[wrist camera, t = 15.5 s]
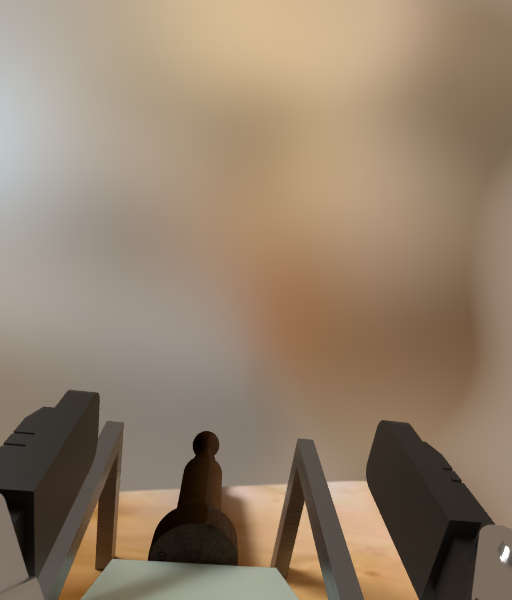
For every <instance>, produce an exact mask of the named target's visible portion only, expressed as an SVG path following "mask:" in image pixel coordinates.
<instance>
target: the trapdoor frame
mask: <svg viewBox="0 0 512 600" xmlns="http://www.w3.org/2000/svg"><path fill="white" fill-rule="evenodd" d="M123 428H124V423H123V422H112V421H107V422H106V424H105V426H104V428H103V430H102V432H101V434H100V436H99V438H98V444H97V450H96V454H95V458H94V461H93V464H92V466H91V469H90V471H89V473H88V475H87V477H86V479H85V481H84V483H83V485H82V487H81V489H80V491H79V494H78V496H77V498H76V500H75V502H74V504H73V506H72V508H71V510H70V512H69V514H68V516H67V519H66V521H65V523H64V525H63V527H62V529H61V531H60V533H59V535H58V537H57V539H56V541H55V543H54V546H53V548H52V550H51V552H50V554H49V556H48V558H47V560H46V562H45V564H44V566H43V568H42V571H41V573H40V575H39V577H38V579H37V580H38V582H39V585H40V588H41V591H42V594H43V597H44V600H58V598H59V595H60V593H61V590H62V588H63V586H64V583H65V581H66V578H67V576H68V573H69V571H70V568H71V566H72V563H73V561H74V558H75V556H76V554H77V551H78V549H79V546H80V544H81V541H82V539H83V536H84V534H85V531H86V529H87V527H88V524H89V522H90V519H91V517H92V514H93V512H94V509H95V507H96V504H97V502H98V522H97V543H96V564H95V569H105V568H106V566H107V565H108V564H109V563H110V561H111V560H112V559H114V558H115V549H116V534H117V519H118V504H119V489H120V473H121V458H122V443H123ZM98 500H99V501H98ZM304 501H305V503H306V507H307V511H308V516H309V520H310V524H311V529H312V533H313V537H314V541H315V546H316V550H317V554H318V558H319V563H320V567H321V571H322V575H323V580H324V584H325V588H326V592H327V597H328V600H364V598H363V595H362V592H361V588H360V585H359V582H358V579H357V576H356V573H355V570H354V567H353V563H352V560H351V557H350V554H349V551H348V548H347V545H346V542H345V538H344V535H343V532H342V529H341V526H340V523H339V520H338V516H337V513H336V510H335V507H334V504H333V501H332V498H331V495H330V491H329V488H328V485H327V482H326V479H325V476H324V473H323V470H322V466H321V463H320V460H319V457H318V454H317V451H316V448H315V445H314V441H313V440H308V439H298V440H297V444H296V449H295V454H294V458H293V463H292V468H291V473H290V477H289V482H288V486H287V491H286V495H285V500H284V505H283V509H282V514H281V519H280V523H279V528H278V533H277V537H276V542H275V547H274V551H273V556H272V560H271V568H277V570H278V571H279V573H280V574H281V575H282V577H283V578H284V579H286V578H287V574H288V569H289V565H290V561H291V556H292V552H293V548H294V544H295V539H296V535H297V531H298V526H299V522H300V518H301V514H302V509H303V505H304Z"/></svg>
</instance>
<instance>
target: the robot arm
mask: <svg viewBox="0 0 512 600" xmlns="http://www.w3.org/2000/svg"><path fill="white" fill-rule="evenodd" d="M99 399H100V398H99V394H98V393H96V392H86V391H76V390H69V391H67V393H66V394H65V395H64V396H63V398H62V399H61V400H60V402H59V403H58V404H57V405H56V407H55V408H52V407H42V408H41V409H39V410H37V411H36V412H34V413H32V414H31V415H29V416H28V417H26V418H25V419H24V420H23V421H22V422H21V424H20V425H19V426H18V427H17V428H16V429H15V431H14V433H13V434H11V435H10V436H9V437H8V439H7V440H6V441H5V442H4V445H3V446H1V447H0V600H44V597H43V594H42V591H41V588H40V585H39V582H38V580H37V579H38V577H39V575H40V573H41V571H42V568H43V566H44V564H45V562H46V560H47V558H48V556H49V554H50V552H51V550H52V548H53V546H54V543H55V541H56V539H57V537H58V535H59V533H60V531H61V529H62V527H63V525H64V523H65V521H66V519H67V516H68V514H69V512H70V510H71V508H72V506H73V504H74V502H75V500H76V498H77V496H78V494H79V491H80V489H81V487H82V485H83V483H84V481H85V479H86V477H87V475H88V473H89V471H90V469H91V466H92V464H93V461H94V458H95V454H96V450H97V444H98V426H99V402H100V400H99ZM366 477H367V483H368V487H369V489H370V491H371V494H372V496H373V498H374V500H375V502H376V505H377V507H378V509H379V511H380V514H381V516H382V518H383V520H384V523H385V525H386V527H387V529H388V531H389V534H390V536H391V538H392V540H393V543H394V545H395V547H396V549H397V551H398V554H399V556H400V558H401V560H402V563H403V565H404V567H405V569H406V572H407V574H408V576H409V578H410V580H411V583H412V585H413V587H414V589H415V592H416V594H417V596H418V598H419V600H512V529H510V528H507V527H504V526H499V525H495V523H494V522H493V521H492V519H491V518H490V517H489V516H488V514H487V513H486V512H485V510H484V509H483V508H482V506H481V505H480V504H479V503H478V501H477V500H476V499H475V497H474V496H473V495H472V493H471V492H470V491H469V490H468V488H467V487H466V486H465V484H464V483H462V482H461V481H462V480H461V479H460V478H459V476H458V475H457V474H456V473H455V472H454V471H453V470H452V467H451V466H450V465H449V464H448V462H447V461H446V460H445V458H444V457H443V456H442V454H440V453H439V452H438V451H437V450H435V449H434V448H433V447H432V446H430V445H429V444H428V443H426V442H423V441H422V440H421V439H420V437H419V436H418V435H417V433H416V432H415V431H414V429H413V428H412V426H411V425H410V424H409V423H405V422H395V421H385V420H382V421H381V422H380V423H379V424H378V427H377V430H376V433H375V437H374V441H373V444H372V448H371V451H370V455H369V459H368V462H367V468H366Z"/></svg>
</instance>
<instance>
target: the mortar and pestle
mask: <svg viewBox="0 0 512 600" xmlns="http://www.w3.org/2000/svg"><path fill="white" fill-rule="evenodd" d="M218 449H219V440H218V438H217V436H216V435H215V434H214V433H212V432H209V431H204V432H201V433H199V434H198V435H197V436H196V437H195V439H194V441H193V450H194V453H195V454H196V456H195V457H194V459H192V460H191V461H190V462H188V464H187V465H186V467H185V469H184V474H183V479H182V485H181V490H180V495H179V500H178V505H177V508H176V509H174V510H173V511H171V512H170V513H168V514H167V515H166V516H165V517H164V518H163V519H162V520H161V521H160V523H159V524H158V526H157V528H156V530H155V533H154V536H153V540H152V543H151V547H150V551H149V555H148V561H160V562H178V563H196V564H214V565H232V566H237V565H238V550H237V536H236V531H235V528H234V526H233V524H232V522H231V521H230V519H229V518H228V517H227V516H226V515H225V514H224V513H222V512H221V485H222V470H221V467H220V465H219V464H218V463H217V462H216V461H215V457H214V455H215V454H216V453H217V451H218Z"/></svg>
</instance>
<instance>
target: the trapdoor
mask: <svg viewBox="0 0 512 600" xmlns="http://www.w3.org/2000/svg"><path fill="white" fill-rule="evenodd" d="M81 600H299V598H298V597H297V596H296V594H295V593H294V592H293V590H292V589H291V588H290V586H289V585H288V583H287V582H286V581H285V579H284V578H283V577H282V575H281V574H280V573H279V571H278V570H277V568H269V567H250V566H232V565H214V564H196V563H178V562H160V561H141V560H123V559H112V560H111V561H110V563H109V564H108V565H107V566H106V568H105V569H104V570H103V572H102V573H101V574H100V575H99V577H98V578H97V579H96V580H95V582H94V583H93V584H92V586H91V587H90V588H89V589H88V591H87V592H86V593H85V594H84V596H83V597H82V598H81Z"/></svg>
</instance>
